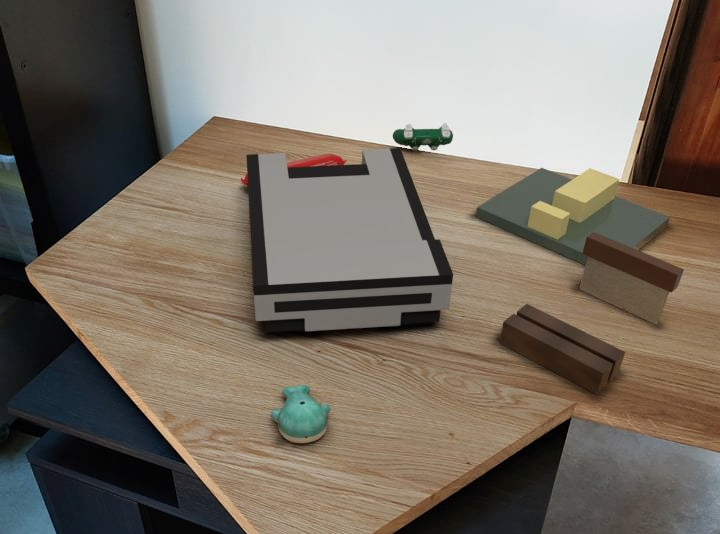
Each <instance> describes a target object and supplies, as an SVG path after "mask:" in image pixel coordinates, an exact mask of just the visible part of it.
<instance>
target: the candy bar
mask: <svg viewBox="0 0 720 534" xmlns="http://www.w3.org/2000/svg"><path fill="white" fill-rule="evenodd" d="M347 161H348V159H345V160H343V158H342V157H341V156H340V155H336V154H335V153H325V154H319V155H314V156H310V157H306V158H301V159H297V160H293V161H288V162H287V167H309V166H331V165H345V164H346V163H347ZM240 181H241V183H242V185H246V186H248V176H247V173H245V175H244V178H243V177H240Z"/></svg>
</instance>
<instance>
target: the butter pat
mask: <svg viewBox="0 0 720 534" xmlns="http://www.w3.org/2000/svg"><path fill="white" fill-rule="evenodd" d="M569 217H570V213H568V212H566V211H564V210H561V209H559V208H556V207H554V206H551V205H549V204H546V203H544V202H542V201H539V202H537V203H536V204H534V205H533V206H531V211H530V216H529V221H528V226H527V227H529V228H531V229H534V230H536V231H538V232H541V233H543V234H545V235H548V236H550V237H552V238H554V239H557V240H558V239H559V238H560V237H562V236H563V235H565V234H566V230H567V225H568V221H569Z"/></svg>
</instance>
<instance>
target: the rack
mask: <svg viewBox="0 0 720 534" xmlns="http://www.w3.org/2000/svg"><path fill="white" fill-rule="evenodd" d="M501 327H502V328H501V332H500V337H499V342H498V343H499V344H500V345H503V346H504V347H506V348H508V349H510V350H512V351H513V352H515V353H517V354H519V355H521V356H523V357H524V358H527V359H528V360H530V361H532V362H534V363H535V364H538V365H540V366H541V367H544V368H545V369H547V370H549V371H550V372H553V373H554V374H557V375H559V376H561V377H562V378H564V379H566V380H568V381H570V382H572V383H573V384H575V385H577V386H579V387H581V388H583V389H585V390H586V391H589V392H590V393H592V394H594V395H597V394H598V393H600V392H602V391H601V390H603V389H604V388H605V387H606V386H607V383H610V382H611V381H612V380H613V379H615V377H616V376H617V375H618V374H619V372H620V369H621V366H622V365H623V361H624V358H625V355H626V351H625V350H622V349H620V348H619V347H616V346H614V345H612V344H610V343H608V342H606V341H604V340H602V339H600V338H598V337H596V336H594V335H591V334H590V333H588V332H586V331H583V330H581V329H579V328H577V327H576V326H573V325H571V324H569V323H567V322H566V321H563V320H561V319H559V318H557V317H555V316H553V315H551V314H549V313H547V312H545V311H543V310H541V309H539V308H537V307H535V306H532V305H531V304H528V303H526V304H525V305H523V306H522V307H520V308H519V309H518V310H517V311H516V314H515V313H513V314H511V315H510V316H509V317H508V318H506V319H505V320H503V322H502V326H501Z"/></svg>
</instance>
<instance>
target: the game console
mask: <svg viewBox="0 0 720 534" xmlns="http://www.w3.org/2000/svg"><path fill="white" fill-rule="evenodd" d="M361 152H362V153H361V163H356V164H355V163H354V164H344V165H331V166H309V167H287V163H288V162H287V153H286V152H277V153H275V152H273V153H252V154H249V153H248V154H246V155H245V156H246V174H247V176H248V185H247V193H248V209H249V210H248V211H249V212H248V213H249V214H248V215H249V231H250V233H249V234H250V246H251V247H250V253H251V254H250V255H251V256H250V257H251V273H252V292H253V303H254V317H255V322H262V321H263V323H264V335H277V334H292V333H294V334H295V333H308V332H319V331H331V330H332V331H333V330H347V329H364V328H366V329H367V328H379V327H380V328H388V327H389V328H390V327H407V326H423V325H424V326H425V325H435V323H437V322H440V317H441V311H446V310H447V311H448V310H450V302H451V295H452V287H453V280H454V272H453V271H452V267H451V265H450V262H449V260H448V257H447V255H446V252H445V249H444V247H443V244H442V242H441V239H436V238H435V236H434V233H433V230H432V228H431V225H430V223H429V219H428V217H427V214H426V212H425V209H424V206H423V204H422V201H421V199H420V195H419V193H418V191H417V188H416V185H415V183H414V180H413V178H412V175H411V172H410V170H409V167H408V164H407V161H406V159H405V157H404V153H403V151H402V149H401V147H396V148H395V147H394V148H392V147H391V148H372V149H371V148H370V149H362V151H361Z"/></svg>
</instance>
